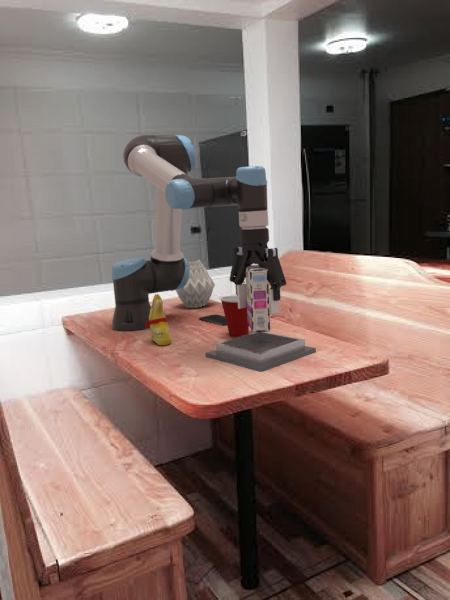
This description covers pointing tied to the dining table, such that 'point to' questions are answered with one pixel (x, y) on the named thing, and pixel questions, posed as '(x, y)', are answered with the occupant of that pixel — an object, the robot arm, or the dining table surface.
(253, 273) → the candy bar box
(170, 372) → the dining table surface
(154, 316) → the chocolate bunny
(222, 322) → the phone
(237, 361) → the grey square tray
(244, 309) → the plastic cup
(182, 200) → the robot arm
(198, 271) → the vase
